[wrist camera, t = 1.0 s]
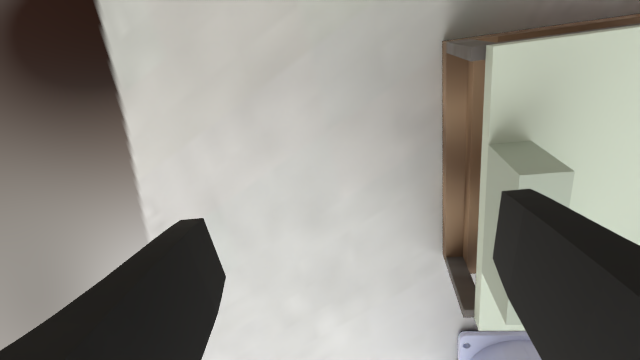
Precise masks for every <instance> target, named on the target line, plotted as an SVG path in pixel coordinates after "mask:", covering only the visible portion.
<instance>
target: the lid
mask: <svg viewBox="0 0 640 360" xmlns="http://www.w3.org/2000/svg"><path fill="white" fill-rule="evenodd" d="M520 189H532V190H534V191H537V192H539V193H541V194H543V195H545V196H547V197H549V198H551V199H553V200H555V201H556V202H558V203H560V204H562V205H564V206H566V207H568V208H570V209H571V210H573V211H575V212H577V213H579V214H581V215H583V216H584V217H586V218H588V219H590V220H592V221H594V222H596V223H598V224H599V225H601V226H603V227H605V228H607V229H609V230H611V231H613V232H614V233H616V234H618V235H620V236H622V237H624V238H626V239H628V240H630V241H632V242H634V243H636V244H638V245H640V25H634V26H626V27H619V28H611V29H604V30H597V31H589V32H582V33H574V34H567V35H559V36H552V37H544V38H537V39H530V40H522V41H515V42H507V43H500V44H492V45H486V61H485V83H484V106H483V129H482V151H481V174H480V197H479V219H478V242H477V264H476V287H475V310H474V319H475V322H476V325H477V327H478V330H479V331H526V330H525V329H524V327H523V325H522V323H521V321H520V319H519V318H518V316H517V314H516V312H515V310H514V308H513V306H512V304H511V303H510V301H509V299H508V297H507V294H506V292H505V289H504V287H503V284H502V282H501V279H500V277H499V274H498V271H497V269H496V266H495V263H494V261H493V250H494V243H495V236H496V229H497V222H498V215H499V208H500V200H501V193H502V191H508V190H520Z"/></svg>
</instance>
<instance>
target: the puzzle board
mask: <svg viewBox="0 0 640 360" xmlns="http://www.w3.org/2000/svg"><path fill="white" fill-rule="evenodd" d="M634 25H640V14H634V15H626V16H619V17H612V18H605V19H598V20H590V21H583V22H576V23H569V24H562V25H555V26H547V27H540V28H533V29H526V30H519V31H511V32H504V33H497V34H490V35H483V36H475V37H468V38H461V39H454V40H447V41H442V86H443V256H444V259H445V262H446V266H447V269H448V272H449V275H450V278H451V281H452V284H453V287H454V290H455V293H456V296H457V299H458V302H459V305H460V308H461V311H462V314H463V317H474V310H475V285H474V282H473V280H472V277H471V275H470V274H472V273H476V264H477V242H478V219H479V197H480V174H481V151H482V129H483V106H484V83H485V61H486V45H492V44H500V43H507V42H515V41H522V40H530V39H537V38H544V37H552V36H559V35H567V34H574V33H582V32H589V31H597V30H604V29H611V28H619V27H626V26H634Z"/></svg>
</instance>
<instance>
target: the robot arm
mask: <svg viewBox="0 0 640 360" xmlns="http://www.w3.org/2000/svg"><path fill="white" fill-rule="evenodd" d="M493 261H494V263H495V266H496V269H497V271H498V274H499V277H500V279H501V282H502V284H503V287H504V289H505V292H506V294H507V297H508V299H509V301H510V303H511V304H512V306H513V308H514V310H515V312H516V314H517V316H518V318H519V319H520V321H521V323H522V325H523V327H524V329H525V330H526V331H465V332H461V333H460V334H459V336H458V360H640V245H638V244H636V243H634V242H632V241H630V240H628V239H626V238H624V237H622V236H620V235H618V234H616V233H614V232H613V231H611V230H609V229H607V228H605V227H603V226H601V225H599V224H598V223H596V222H594V221H592V220H590V219H588V218H586V217H584V216H583V215H581V214H579V213H577V212H575V211H573V210H571V209H570V208H568V207H566V206H564V205H562V204H560V203H558V202H556V201H555V200H553V199H551V198H549V197H547V196H545V195H543V194H541V193H539V192H537V191H534V190H532V189H520V190H508V191H502V193H501V200H500V208H499V215H498V222H497V229H496V236H495V243H494V250H493ZM225 278H226V276H225V273H224V271H223V268H222V265H221V263H220V260H219V258H218V255H217V252H216V250H215V247H214V245H213V242H212V240H211V237H210V234H209V232H208V229H207V227H206V224H205V222H204V219H203V218H199V219H188V220H180V221H179V222H177V223H176V224H174V225H173V226H171V227H170V228H168V229H167V230H166V231H164V232H163V233H162V234H160V235H159V236H158V237H156V238H155V239H154V240H152V241H151V242H150V243H149V244H147V245H146V246H145V247H143V248H142V249H141V250H140V251H138V252H137V253H136V254H135V255H133V256H132V257H131V258H129V259H128V260H127V261H126V262H124V263H123V264H122V265H120V266H119V267H118V268H117V269H116V270H114V271H113V272H111V273H110V274H109V275H108V276H107V277H105V278H104V279H103V280H101V281H100V282H98V283H97V284H96V285H94V286H93V287H92V288H90V289H89V290H88V291H86V292H85V293H83V294H82V295H81V296H79V297H78V298H77V299H75V300H74V301H73V302H71V303H70V304H68V305H67V306H66V307H64V308H63V309H62V310H60V311H59V312H58V313H56V314H55V315H53V316H52V317H51V318H49V319H48V320H46V321H45V322H43V323H42V324H40V325H39V326H37V327H36V328H34V329H33V330H31V331H30V332H28V333H27V334H26V335H24V336H23V337H21V338H19V339H18V340H16V341H15V342H13V343H12V344H10V345H8V346H7V347H5V348H4V349H2V350H1V351H0V360H201V359H202V356H203V353H204V351H205V348H206V345H207V342H208V340H209V337H210V334H211V331H212V328H213V326H214V323H215V320H216V317H217V314H218V310H219V306H220V302H221V298H222V293H223V288H224V283H225ZM464 343H467V344H464Z"/></svg>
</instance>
